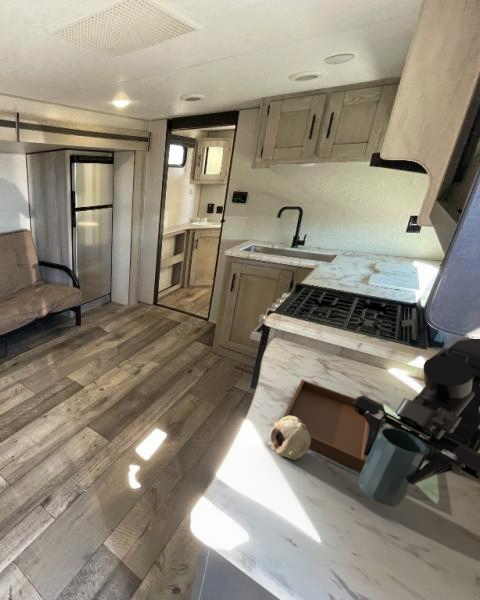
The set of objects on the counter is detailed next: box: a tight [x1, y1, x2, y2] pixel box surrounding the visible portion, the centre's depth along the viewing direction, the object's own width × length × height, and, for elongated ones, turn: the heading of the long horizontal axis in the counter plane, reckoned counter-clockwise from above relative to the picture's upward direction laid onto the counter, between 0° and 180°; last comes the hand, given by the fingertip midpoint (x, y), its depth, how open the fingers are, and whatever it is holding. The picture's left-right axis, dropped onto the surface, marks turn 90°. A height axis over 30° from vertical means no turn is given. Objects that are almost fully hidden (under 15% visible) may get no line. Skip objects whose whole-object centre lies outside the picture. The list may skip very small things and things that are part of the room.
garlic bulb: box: [268, 416, 311, 460], centre depth 78 cm, size 9×8×10 cm
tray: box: [283, 379, 369, 473], centre depth 89 cm, size 28×18×3 cm, turn 137°
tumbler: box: [357, 426, 429, 508], centre depth 61 cm, size 7×7×13 cm
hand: (386, 468), depth 60 cm, fingers closed on tumbler, 7 cm apart
